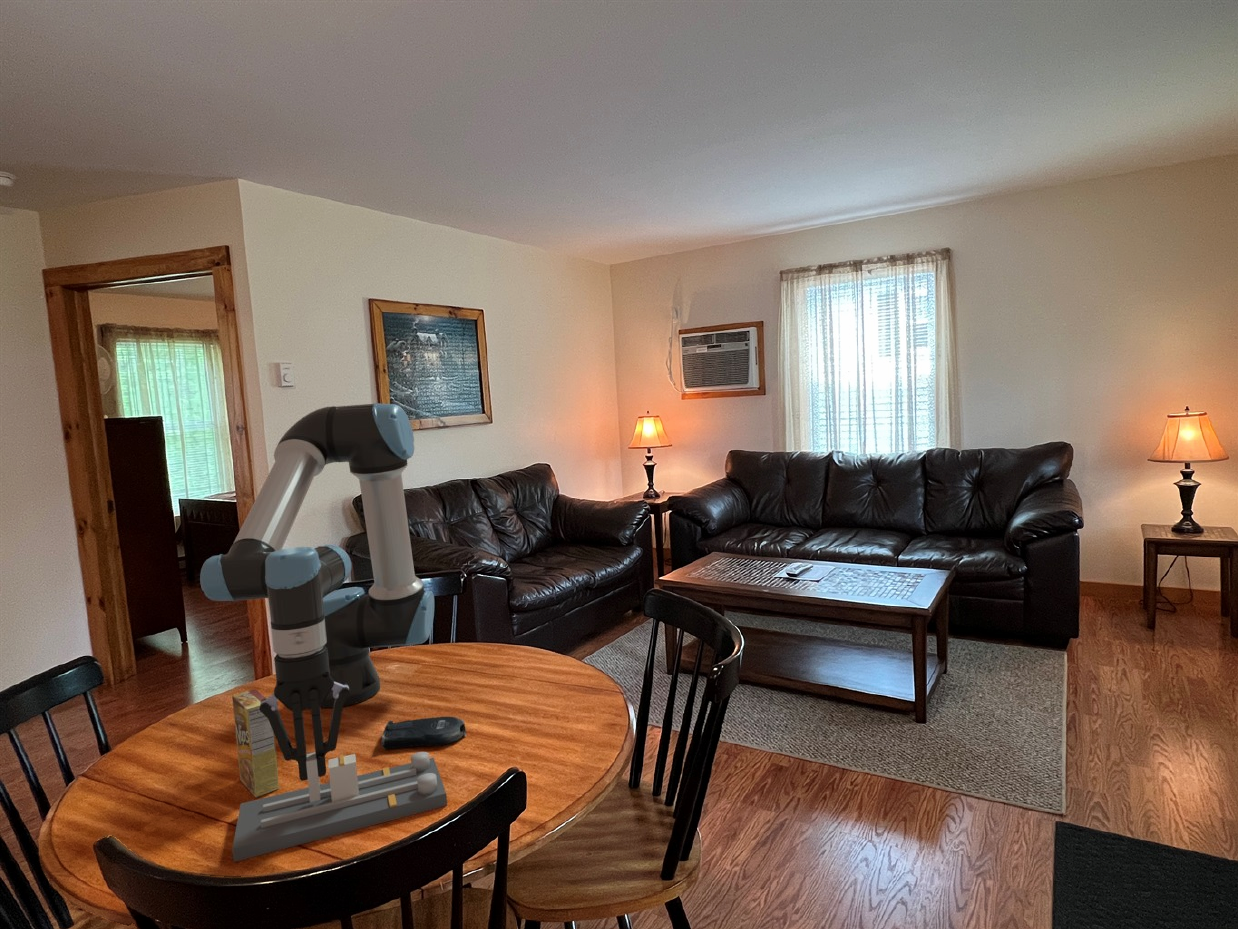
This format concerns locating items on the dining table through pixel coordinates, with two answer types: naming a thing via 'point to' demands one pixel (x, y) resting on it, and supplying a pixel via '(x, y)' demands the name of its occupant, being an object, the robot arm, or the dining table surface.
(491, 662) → the dining table surface
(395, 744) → the electronic device
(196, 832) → the dining table surface
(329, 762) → the fader tab
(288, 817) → the console board
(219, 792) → the dining table surface
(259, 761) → the candy box
